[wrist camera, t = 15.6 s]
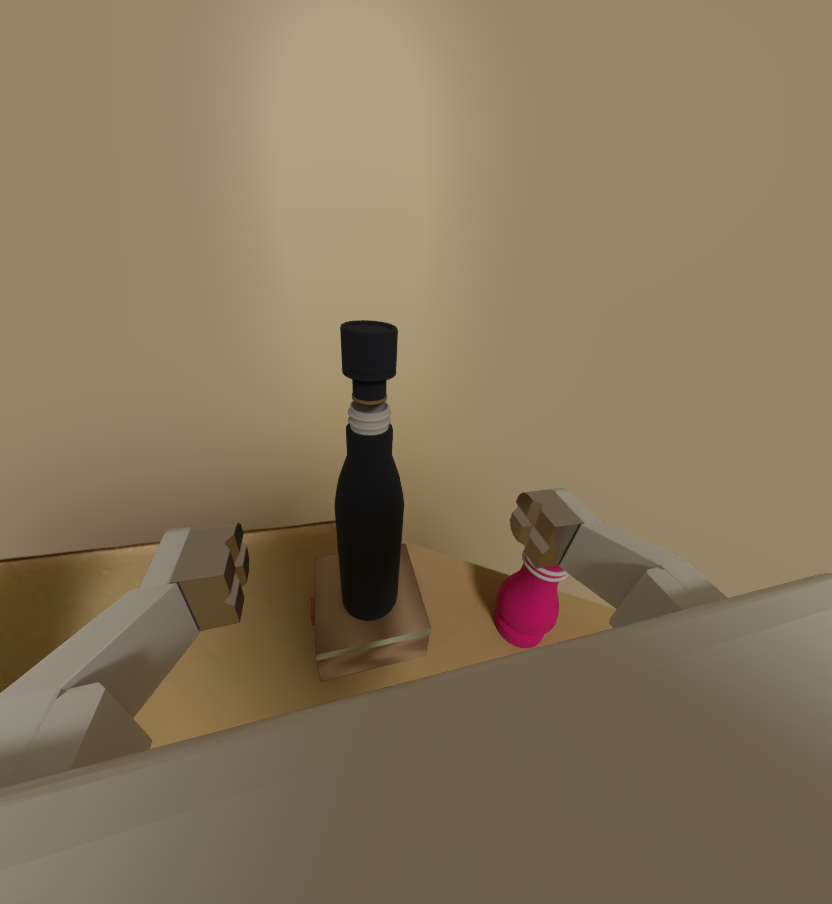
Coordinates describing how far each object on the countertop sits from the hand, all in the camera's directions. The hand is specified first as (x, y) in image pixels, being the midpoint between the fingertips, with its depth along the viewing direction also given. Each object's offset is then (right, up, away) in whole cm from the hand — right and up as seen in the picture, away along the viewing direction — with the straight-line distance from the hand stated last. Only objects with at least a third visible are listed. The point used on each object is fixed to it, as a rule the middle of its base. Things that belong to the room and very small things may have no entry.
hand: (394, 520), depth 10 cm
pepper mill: (+14, -21, +33) cm, 42 cm away
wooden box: (-6, -19, +32) cm, 38 cm away
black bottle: (-5, -15, +29) cm, 33 cm away
